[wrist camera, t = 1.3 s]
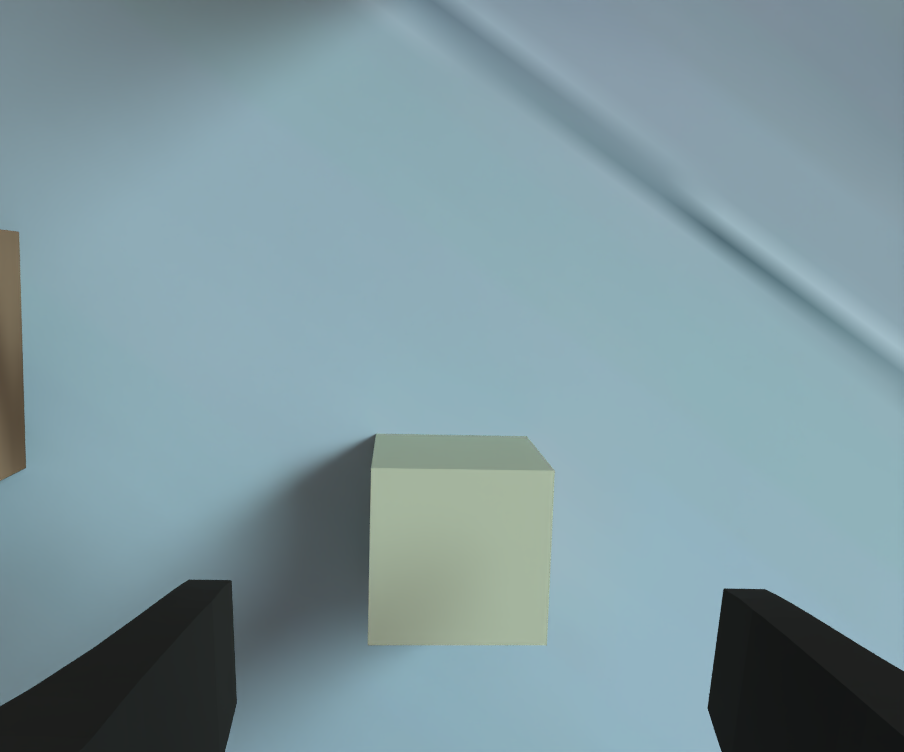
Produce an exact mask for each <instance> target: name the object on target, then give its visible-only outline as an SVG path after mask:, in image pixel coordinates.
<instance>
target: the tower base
mask: <svg viewBox="0 0 904 752" xmlns="http://www.w3.org/2000/svg"><path fill="white" fill-rule="evenodd" d="M24 468H26V454H25V420H24V386H23V352H22V318H21V284H20V250H19V232H16V231H8V230H0V481H1V480H3V479H5V478H7V477H9V476H11V475H13V474H15V473H17V472H18V471H20V470H22V469H24Z"/></svg>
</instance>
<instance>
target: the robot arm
mask: <svg viewBox="0 0 904 752" xmlns="http://www.w3.org/2000/svg"><path fill="white" fill-rule="evenodd" d="M236 704H237V697H236V674H235V651H234V627H233V604H232V581H231V580H188V581H186V582H185V583H183V584H181V585H180V586H178V587H177V588H176V589H174V590H173V591H171V592H170V593H169V594H167V595H166V596H164V597H163V598H162V599H160V600H159V601H158V602H156V603H155V604H154V605H152V606H151V607H149V608H148V609H147V610H145V611H144V612H143V613H141V614H140V615H139V616H137V617H136V618H135V619H133V620H132V621H130V622H129V623H128V624H126V625H125V626H123V627H122V628H121V629H119V630H118V631H116V632H115V633H114V634H112V635H111V636H110V637H108V638H107V639H105V640H104V641H103V642H101V643H100V644H98V645H97V646H96V647H94V648H93V649H91V650H90V651H88V652H86V653H85V654H83V655H82V656H80V657H79V658H77V659H76V660H74V661H73V662H71V663H70V664H68V665H67V666H65V667H63V668H62V669H60V670H59V671H57V672H56V673H54V674H53V675H51V676H50V677H48V678H47V679H45V680H44V681H42V682H40V683H39V684H37V685H36V686H34V687H33V688H31V689H29V690H28V691H26V692H24V693H23V694H21V695H19V696H17V697H16V698H14V699H12V700H10V701H9V702H7V703H5V704H3V705H2V706H0V752H225V748H226V745H227V741H228V737H229V733H230V728H231V724H232V720H233V716H234V712H235V708H236ZM708 711H709V714H710V717H711V720H712V724H713V727H714V730H715V733H716V736H717V739H718V742H719V745H720V748H721V751H722V752H904V671H902V670H901V669H899V668H897V667H895V666H894V665H892V664H890V663H889V662H887V661H885V660H884V659H882V658H880V657H879V656H877V655H875V654H874V653H872V652H870V651H869V650H867V649H865V648H864V647H862V646H860V645H859V644H857V643H856V642H854V641H852V640H851V639H849V638H847V637H846V636H844V635H843V634H841V633H839V632H838V631H836V630H834V629H833V628H831V627H830V626H828V625H826V624H825V623H823V622H822V621H820V620H818V619H817V618H815V617H813V616H812V615H810V614H809V613H807V612H805V611H804V610H802V609H800V608H799V607H797V606H795V605H794V604H792V603H790V602H788V601H787V600H785V599H783V598H781V597H779V596H777V595H776V594H773V593H771V592H769V591H767V590H765V589H724V590H723V597H722V605H721V612H720V620H719V627H718V634H717V642H716V649H715V657H714V664H713V672H712V679H711V687H710V694H709V702H708Z"/></svg>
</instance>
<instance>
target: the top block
mask: <svg viewBox="0 0 904 752" xmlns="http://www.w3.org/2000/svg"><path fill="white" fill-rule="evenodd" d="M554 473H555V471H554V469H553V468H552V467H551V466H550V464H549V463H548V462H547V461H546V460H545V458H544V457H543V456H542V455H541V453H540V452H539V451H538V450H537V449H536V447H535V446H534V445H533V444H532V442H531V441H530V440H529V439H528V437H527V436H475V435H418V434H376V438H375V445H374V452H373V459H372V465H371V501H370V554H369V608H368V645H547V627H548V605H549V583H550V561H551V539H552V517H553V495H554Z"/></svg>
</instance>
